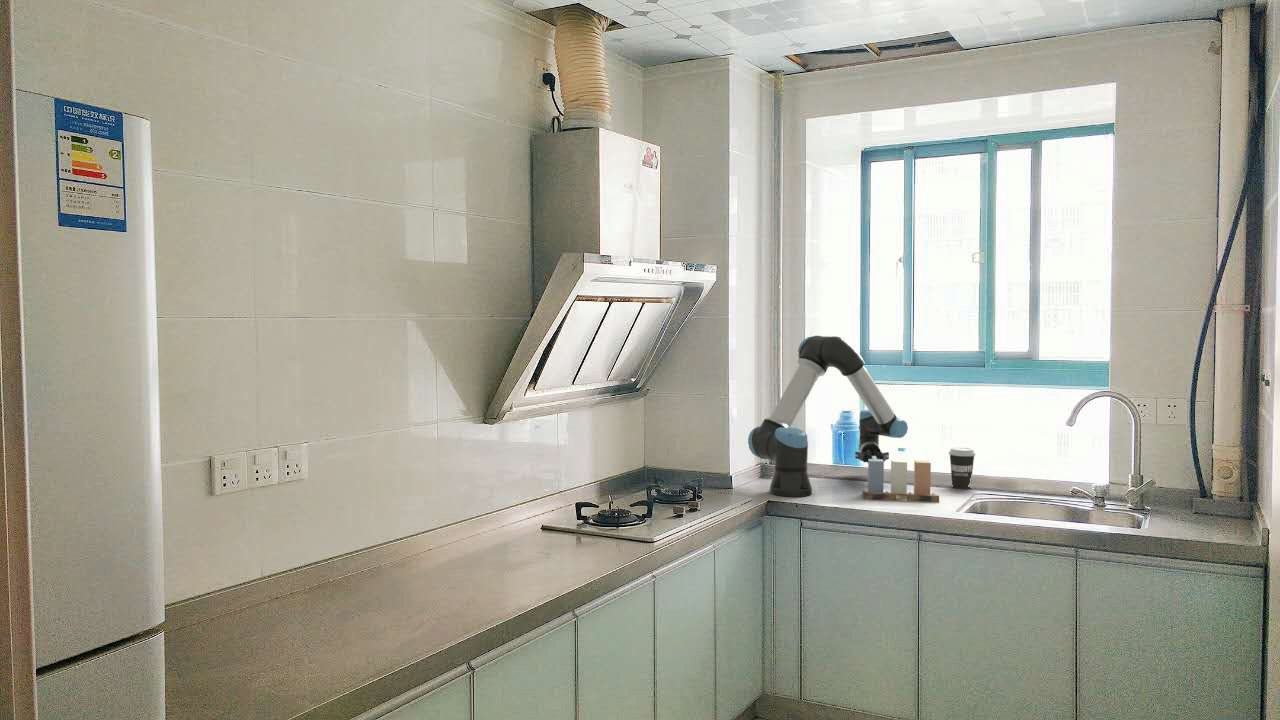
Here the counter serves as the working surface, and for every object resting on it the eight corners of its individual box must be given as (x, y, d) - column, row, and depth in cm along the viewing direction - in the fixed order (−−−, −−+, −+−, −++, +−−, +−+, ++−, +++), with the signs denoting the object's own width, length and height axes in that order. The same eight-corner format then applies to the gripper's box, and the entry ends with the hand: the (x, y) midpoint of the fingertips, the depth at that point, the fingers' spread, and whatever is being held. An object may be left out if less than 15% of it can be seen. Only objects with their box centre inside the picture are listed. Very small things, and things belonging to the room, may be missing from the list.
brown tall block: (915, 496, 319) (916, 462, 318) (913, 493, 324) (914, 460, 323) (930, 496, 318) (930, 463, 317) (928, 494, 323) (928, 460, 322)
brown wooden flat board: (864, 501, 315) (864, 493, 314) (861, 493, 330) (861, 485, 329) (939, 504, 310) (939, 495, 310) (933, 496, 325) (933, 487, 325)
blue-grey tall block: (868, 494, 322) (869, 461, 321) (867, 491, 327) (868, 458, 326) (883, 495, 321) (883, 461, 320) (882, 492, 326) (882, 459, 325)
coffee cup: (942, 487, 342) (943, 447, 342) (961, 485, 346) (962, 446, 346) (961, 491, 334) (961, 451, 333) (980, 489, 338) (981, 449, 337)
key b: (892, 495, 320) (892, 461, 320) (890, 492, 325) (891, 459, 325) (906, 495, 319) (907, 462, 319) (905, 493, 324) (905, 460, 324)
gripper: (887, 462, 354) (893, 472, 331) (853, 461, 357) (856, 472, 334) (887, 443, 354) (893, 452, 331) (853, 442, 356) (856, 451, 333)
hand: (875, 462), depth 332 cm, fingers closed
